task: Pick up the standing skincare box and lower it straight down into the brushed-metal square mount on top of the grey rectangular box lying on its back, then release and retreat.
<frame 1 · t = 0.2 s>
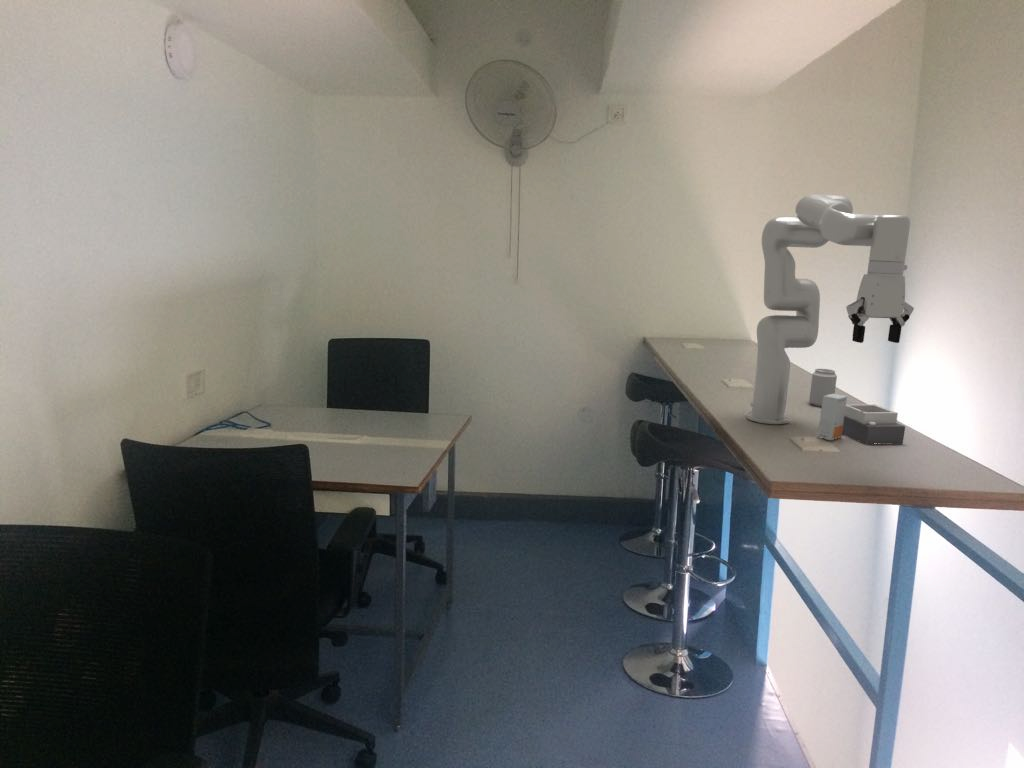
hand: (875, 341, 178), 31 cm above the table, tool pointing down, fingers open, 9 cm apart
skincare box: (829, 438, 209), on the table
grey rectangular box: (866, 436, 212), on the table
can: (820, 405, 249), on the table
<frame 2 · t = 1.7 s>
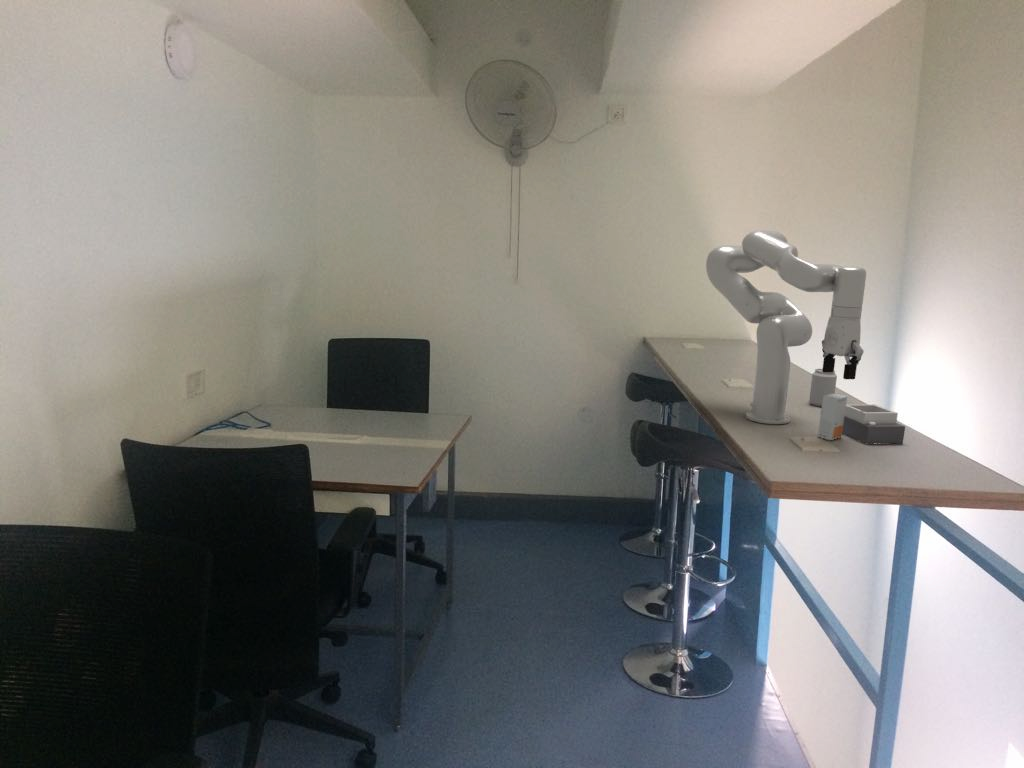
hand: (838, 375, 205), 18 cm above the table, tool pointing down, fingers open, 9 cm apart
nothing on the table moved.
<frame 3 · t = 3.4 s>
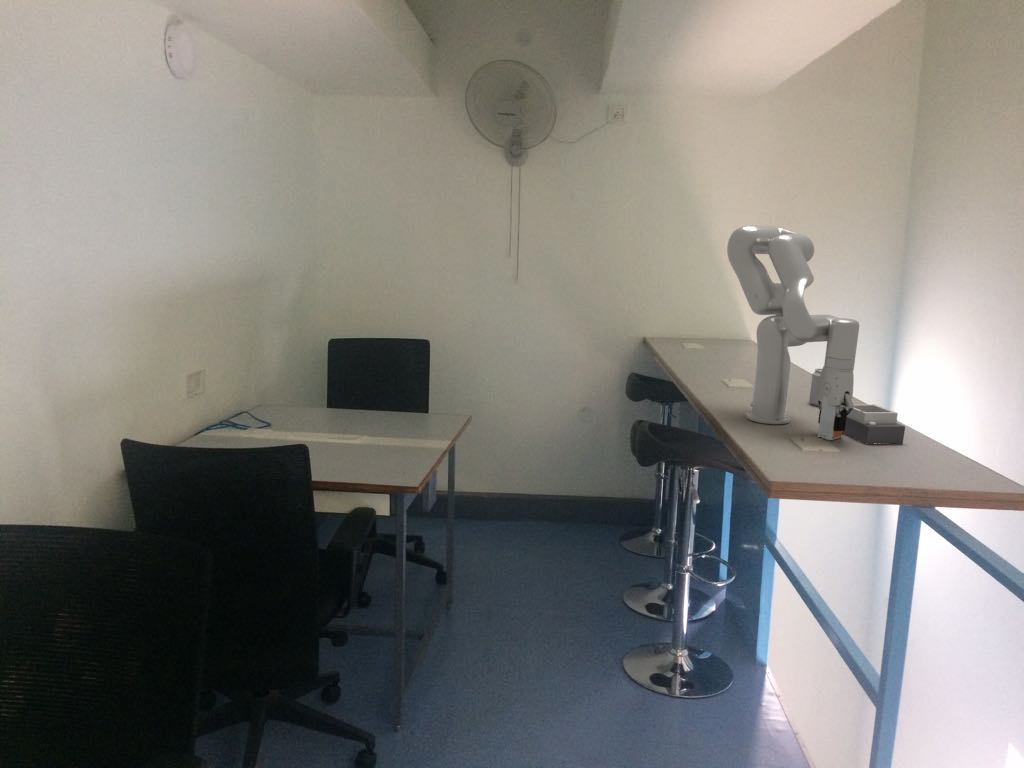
hand: (831, 426, 208), 3 cm above the table, tool pointing down, fingers closed on skincare box, 6 cm apart
skincare box: (829, 438, 209), on the table, touching gripper
everything else where it was.
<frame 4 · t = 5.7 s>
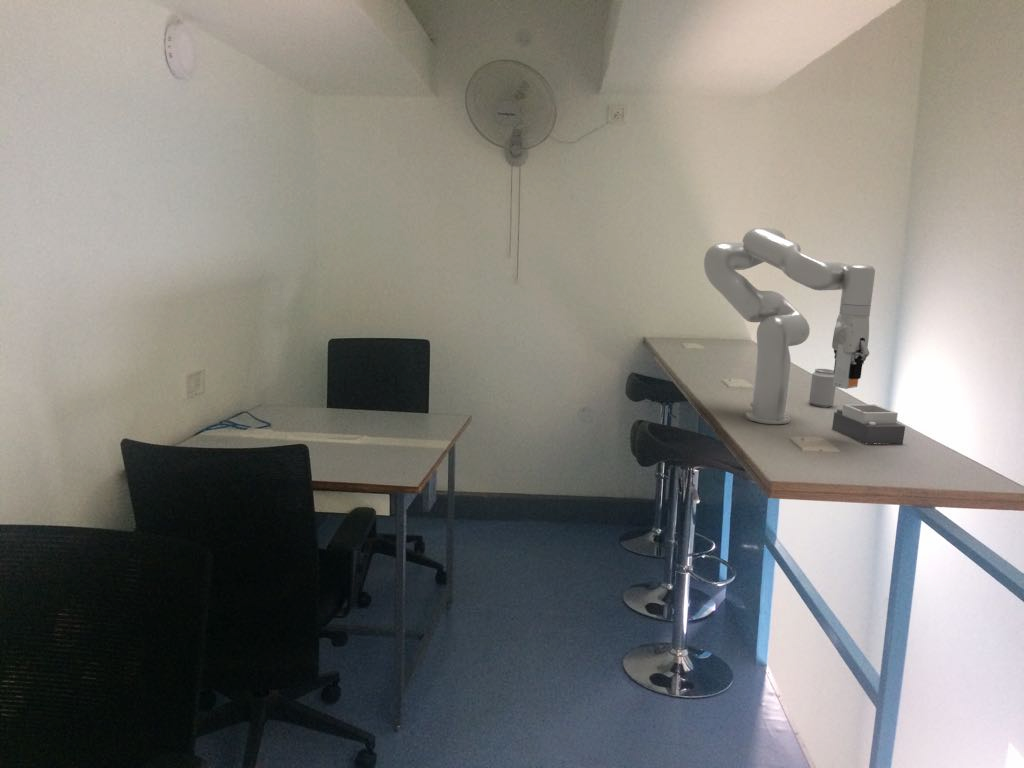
hand: (846, 375, 206), 18 cm above the table, tool pointing down, fingers closed on skincare box, 6 cm apart
skincare box: (845, 387, 206), point 14 cm above the table, touching gripper
everything else where it was.
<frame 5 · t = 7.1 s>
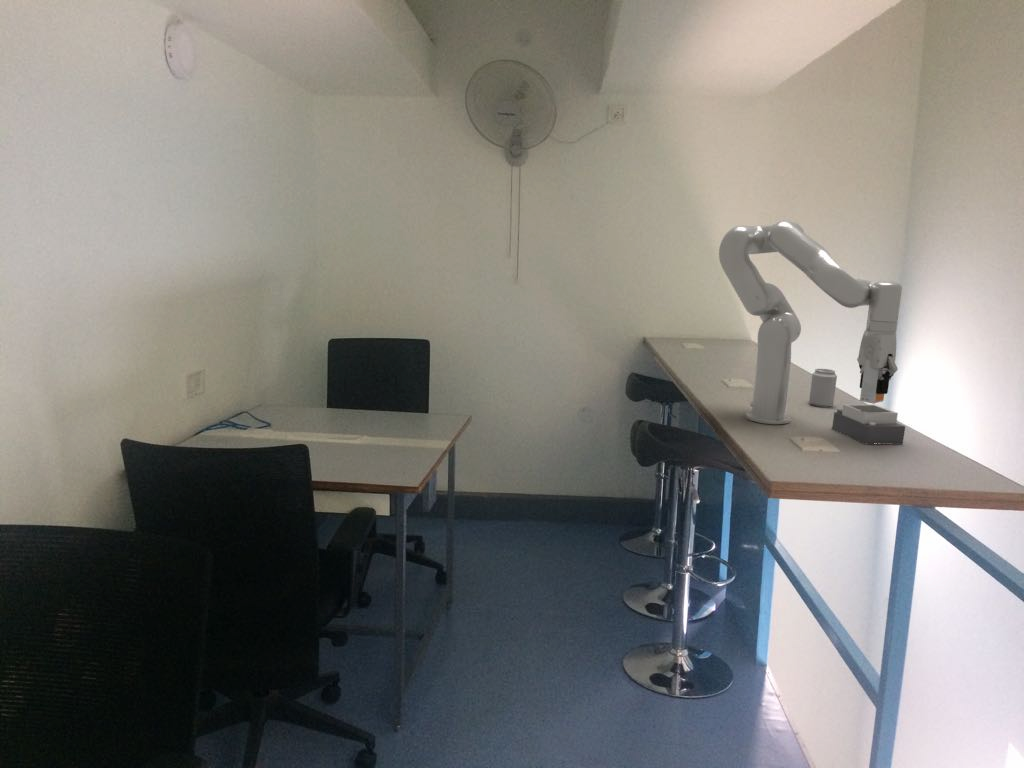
hand: (873, 390, 209), 13 cm above the table, tool pointing down, fingers closed on skincare box, 6 cm apart
skincare box: (871, 402, 210), point 10 cm above the table, touching gripper
everything else where it was.
when the fingers open (10 cm above the table, at t = 8.2 s): skincare box drops 1 cm, resting on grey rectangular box.
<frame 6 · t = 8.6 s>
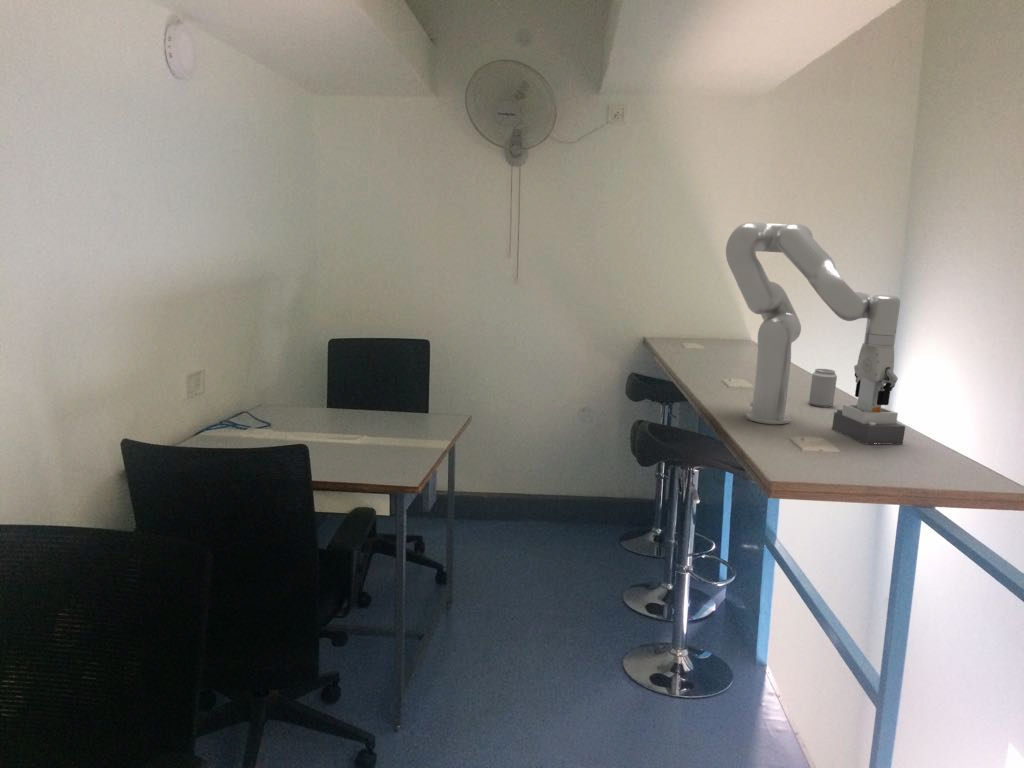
hand: (871, 400, 210), 10 cm above the table, tool pointing down, fingers open, 9 cm apart
skincare box: (867, 419, 211), point 5 cm above the table, touching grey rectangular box
everything else where it was.
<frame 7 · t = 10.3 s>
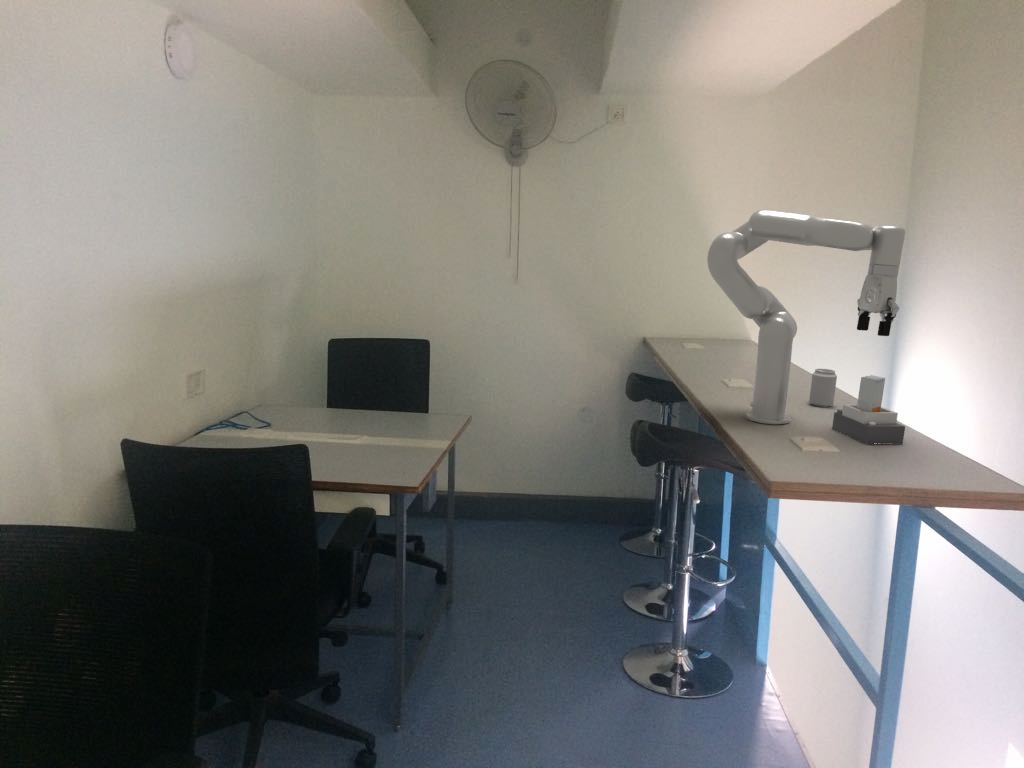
hand: (872, 332, 210), 29 cm above the table, tool pointing down, fingers open, 9 cm apart
nothing on the table moved.
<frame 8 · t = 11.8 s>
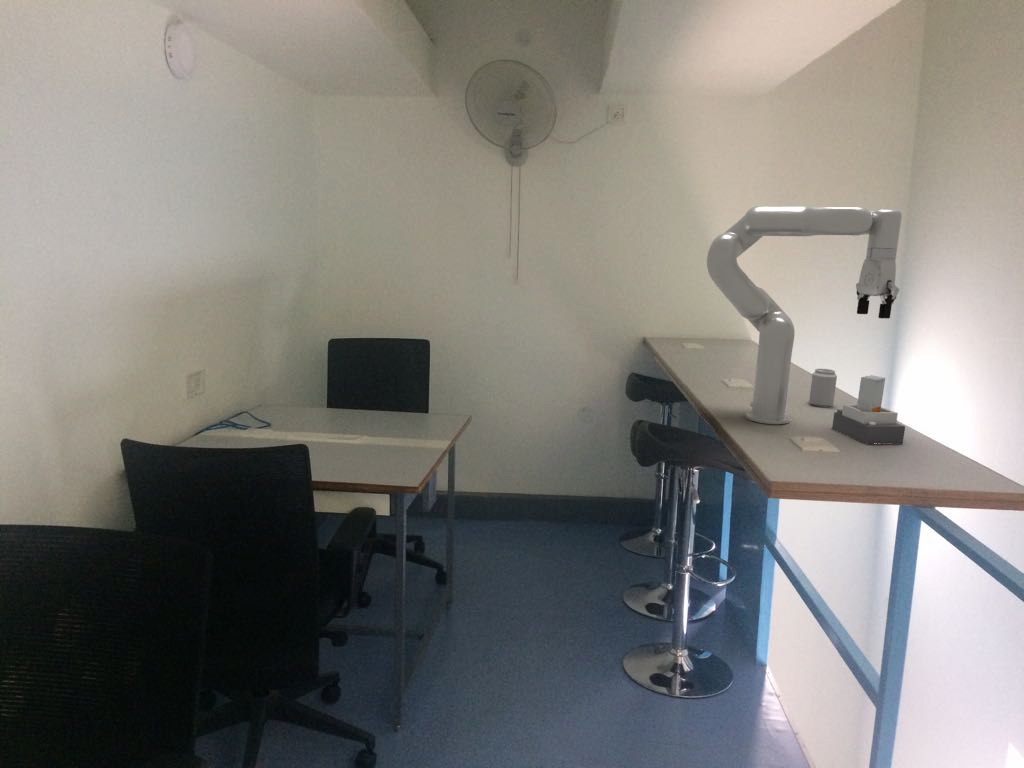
hand: (872, 316, 212), 33 cm above the table, tool pointing down, fingers open, 9 cm apart
nothing on the table moved.
at the end: skincare box inside the target area on the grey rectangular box (0.4 cm from its centre), point 4.8 cm above the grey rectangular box's base; skincare box tilted 0°; the gripper is holding nothing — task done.
